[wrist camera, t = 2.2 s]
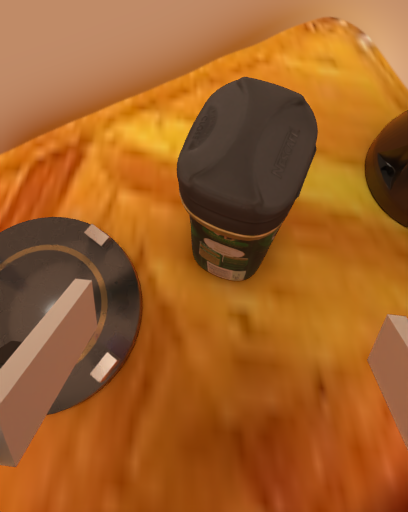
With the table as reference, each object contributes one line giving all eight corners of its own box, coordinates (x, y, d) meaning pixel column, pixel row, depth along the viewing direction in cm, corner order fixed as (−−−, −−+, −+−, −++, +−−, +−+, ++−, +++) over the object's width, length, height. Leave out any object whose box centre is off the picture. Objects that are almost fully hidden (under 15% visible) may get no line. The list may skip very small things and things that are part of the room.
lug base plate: (180, 291, 34) (177, 285, 31) (49, 461, 30) (31, 472, 27) (47, 190, 38) (33, 177, 35) (-87, 329, 34) (-115, 328, 31)
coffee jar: (215, 190, 38) (218, 47, 20) (280, 214, 37) (345, 85, 19) (181, 264, 35) (150, 178, 17) (250, 292, 34) (291, 231, 16)
